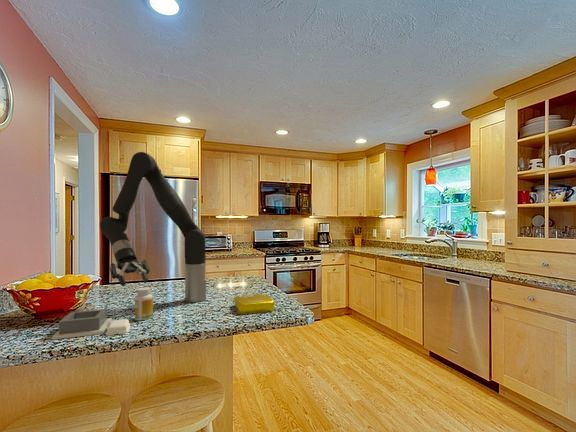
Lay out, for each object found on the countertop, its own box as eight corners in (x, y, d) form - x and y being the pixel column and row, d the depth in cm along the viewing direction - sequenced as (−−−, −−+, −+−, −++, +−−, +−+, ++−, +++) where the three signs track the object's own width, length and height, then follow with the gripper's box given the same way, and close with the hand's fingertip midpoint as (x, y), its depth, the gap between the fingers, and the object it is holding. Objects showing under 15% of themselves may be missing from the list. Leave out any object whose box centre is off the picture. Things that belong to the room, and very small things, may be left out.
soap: (128, 334, 100) (128, 325, 100) (104, 337, 97) (104, 328, 97) (131, 325, 108) (131, 317, 108) (109, 328, 105) (109, 319, 106)
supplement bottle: (155, 315, 118) (155, 286, 119) (148, 320, 112) (148, 290, 112) (139, 315, 118) (139, 287, 119) (131, 320, 112) (131, 290, 112)
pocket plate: (111, 320, 112) (112, 307, 113) (103, 333, 99) (103, 318, 99) (67, 325, 108) (67, 311, 108) (51, 339, 94) (52, 323, 95)
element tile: (239, 315, 119) (239, 303, 119) (233, 305, 133) (233, 294, 133) (275, 311, 123) (275, 300, 123) (266, 302, 138) (266, 292, 138)
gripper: (107, 248, 121) (119, 280, 113) (143, 245, 132) (156, 274, 124) (103, 260, 124) (113, 292, 116) (138, 257, 135) (150, 286, 127)
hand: (135, 283), depth 120 cm, fingers open, 8 cm apart
